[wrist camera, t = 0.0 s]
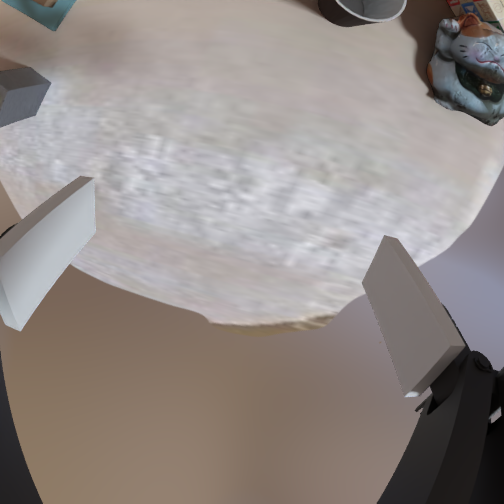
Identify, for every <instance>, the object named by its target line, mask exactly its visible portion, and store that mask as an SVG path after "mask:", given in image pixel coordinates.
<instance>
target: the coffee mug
mask: <svg viewBox="0 0 504 504" xmlns="http://www.w3.org/2000/svg"><path fill="white" fill-rule="evenodd" d="M406 2H407V0H318V5H319V9H320V11H321V13H322V14H323V16H324V17H325V18H326V19H327V20H329V21H330V22H332V23H333V24H336V25H338V26H342V27H352V26H358V25H365V24H372V23H379V22H386V21H390V20H393V19H395V18H397V17H398V16H399V15H401V13H402V12H403V11H404V9H405V6H406Z"/></svg>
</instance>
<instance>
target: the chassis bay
mask: <svg viewBox="0 0 504 504" xmlns="http://www.w3.org/2000/svg"><path fill="white" fill-rule="evenodd" d="M2 1H3V2H5V3H7V4H8V5H10V6H12V7H14V8H15V9H17V10H19V11H21V12H22V13H24V14H26V15H27V16H29V17H31V18H32V19H34V20H36V21H37V22H39V23H41V24H42V25H44V26H46V27H47V28H49V29H50V30H52V31H56V29H57V28H58V26H59V24H60V23H61V21H62V20H63V18H64V17H65V15H66V14H67V12H68V11H69V10H70V8H71V7H72V5H73V4H74V3H75V1H76V0H2Z"/></svg>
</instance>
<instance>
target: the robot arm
mask: <svg viewBox="0 0 504 504" xmlns="http://www.w3.org/2000/svg"><path fill="white" fill-rule="evenodd" d="M95 233H96V225H95V198H94V178H91V177H84V176H80V177H78V178H77V179H75V180H74V181H72V182H71V183H70V184H68V185H67V186H65V187H64V188H63V189H61V190H60V191H58V192H57V193H56V194H54V195H53V196H52V197H50V198H49V199H48V200H46V201H45V202H44V203H42V204H41V205H40V206H39V207H37V208H36V209H35V210H34V211H32V212H31V213H30V214H29V215H27V216H26V217H25V218H24V219H22V220H21V221H20V222H19V223H17V224H15V225H13V226H11V227H9V228H8V229H7V230H6V231H5V232H4V233H2V235H1V236H0V313H1V316H2V318H3V320H4V323H5V325H8V326H10V327H12V328H14V329H16V330H19V331H21V330H22V328H23V327H24V325H25V324H26V322H27V321H28V319H29V318H30V316H31V315H32V313H33V312H34V310H35V309H36V307H37V306H38V305H39V303H40V302H41V301H42V299H43V298H44V296H45V295H46V294H47V292H48V291H49V289H50V288H51V287H52V286H53V284H54V283H55V282H56V280H57V279H58V278H59V276H60V275H61V274H62V273H63V271H64V270H65V269H66V267H67V266H68V265H69V264H70V262H71V261H72V260H73V259H74V258H75V256H76V255H77V254H78V253H79V251H80V250H81V249H82V248H83V247H84V246H85V244H86V243H87V242H88V241H89V240H90V239H91V237H92V236H93V235H94V234H95ZM362 285H363V287H364V289H365V292H366V294H367V296H368V299H369V301H370V304H371V306H372V309H373V311H374V314H375V316H376V319H377V321H378V324H379V326H380V329H381V332H382V334H383V337H384V340H385V342H386V345H387V348H388V351H389V353H390V355H391V359H392V362H393V365H394V367H395V370H396V373H397V376H398V379H399V382H400V385H401V388H402V391H403V395H404V397H413V396H420V395H421V394H422V393H423V392H424V391H425V390H426V389H427V388H428V387H429V386H430V388H431V390H432V394H431V395H430V396H429V397H428V398H427V399H425V400H424V401H423V402H422V403H421V404H420V405H419V406H418V407H417V408H416V410H415V411H416V412H417V411H418V410H420V409H421V408H423V411H422V412H421V413H420V414H421V415H420V418H419V420H418V423H417V425H416V428H415V430H414V433H413V435H412V437H411V439H410V442H409V444H408V446H407V448H406V450H405V452H404V454H403V456H402V459H401V460H400V462H399V464H398V466H397V468H396V470H395V472H394V474H393V476H392V478H391V480H390V481H389V483H388V485H387V487H386V489H385V491H384V492H383V494H382V496H381V497H380V499H379V501H378V502H377V504H504V367H503V368H502V369H501V371H496V370H493V368H492V365H491V363H490V361H489V360H488V359H487V357H485V356H484V355H483V354H482V353H480V352H478V351H470V349H469V347H468V345H467V343H466V341H465V340H464V338H463V336H462V334H461V332H460V331H459V329H458V327H456V324H455V322H454V320H453V319H452V317H451V315H450V314H449V312H448V310H447V309H446V308H445V306H444V305H443V304H442V303H441V302H440V301H439V299H438V297H437V296H436V294H435V293H434V291H433V289H432V288H431V286H430V285H429V283H428V282H427V280H426V279H425V277H424V276H423V274H422V273H421V271H420V270H419V268H418V267H417V265H416V264H415V262H414V261H413V260H412V258H411V257H410V255H409V254H408V252H407V251H406V250H405V248H404V247H403V245H402V244H401V243H400V241H399V240H398V239H397V238H393V237H389V236H386V235H384V237H383V239H382V241H381V244H380V246H379V248H378V250H377V252H376V254H375V257H374V259H373V261H372V263H371V265H370V267H369V269H368V271H367V273H366V275H365V277H364V279H363V281H362ZM500 409H501V416H500V417H499V418H498V419H497V420H496V421H495V422H493V423H491V417H492V416H494V415H495V414H496V413H497V412H498V411H499V410H500ZM0 504H43V503H42V500H41V498H40V496H39V494H38V491H37V489H36V487H35V484H34V482H33V480H32V477H31V474H30V472H29V469H28V467H27V464H26V461H25V458H24V455H23V452H22V449H21V446H20V443H19V440H18V436H17V433H16V429H15V426H14V422H13V418H12V414H11V410H10V405H9V401H8V396H7V391H6V386H5V380H4V374H3V368H2V361H1V353H0Z"/></svg>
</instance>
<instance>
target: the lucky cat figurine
mask: <svg viewBox="0 0 504 504" xmlns="http://www.w3.org/2000/svg"><path fill="white" fill-rule="evenodd" d="M427 75H428V79H429V81H430V84H431V86H432V89H433V92H434V95H435V96H434V100H435V101H436V103H438V104H440V105H442V106H443V107H445V108H446V109H450V110H456V111H461V112H464V113H467V114H468V115H470V116H472V117H474V118H476V119H478V120H479V121H481V122H482V123H484V124H487V125H489V126H493V125H495V124H497V123H498V121H499V120H500V119H502V118H503V117H504V31H502V30H499V29H497V28H496V27H494V26H493V25H491V24H489V23H488V22H481V21H480V20H479V19H478V16H477V15H476V14H474V13H467V14H462V15H459V16H457V17H453V18H450V19H443V20H442V21H441V22H440V23H439V28H438V30H437V39H436V44H435V50H434V54H433V57H432V60H431V61H430V62H429V63H428V67H427Z"/></svg>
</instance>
